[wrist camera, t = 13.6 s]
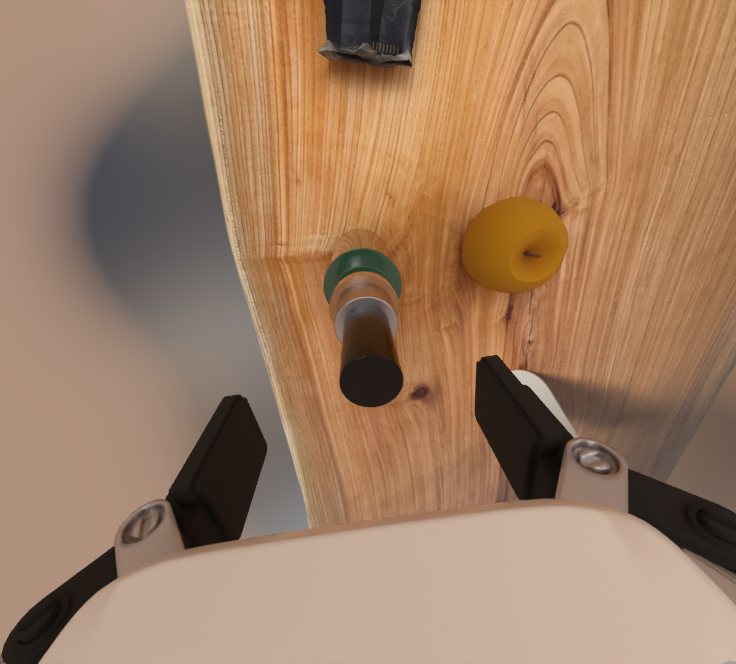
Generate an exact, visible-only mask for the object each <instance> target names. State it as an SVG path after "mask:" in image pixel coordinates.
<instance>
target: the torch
mask: <svg viewBox="0 0 736 664" xmlns="http://www.w3.org/2000/svg"><path fill="white" fill-rule="evenodd" d="M397 331H398V317H397V314H396V311H395V308H394V305H393V302H392V299H391V297H390V295H389V294H388V293H387V292H386V290H384V289H383V288H382V287H380V286H378V285H376V284H373V283H358V284H355V285H352V286H350V287H349V288H347V289H346V290H345V291H344V292H343V293H342V295H341V296H340V298H339V300H338V303H337V310H336V317H335V333H336V336H337V338H338V339H339V341H340V342H341V343H342V354H341V367H340V388H341V391H342V393H343V394H344V396H345V397H346V398H347V399H348V400H349V401H351V402H352V403H354V404H356V405H359V406H363V407H378V406H382V405H385V404H387V403H389V402H390V401H392V400H393V399H394V398H395V397H396V396H397V395H398V394H399V392H400V391H401V389H402V386H403V374H402V370H401V366H400V362H399V358H398V354H397V351H396V347H395V343H394V338H395V337H396V334H397Z"/></svg>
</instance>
